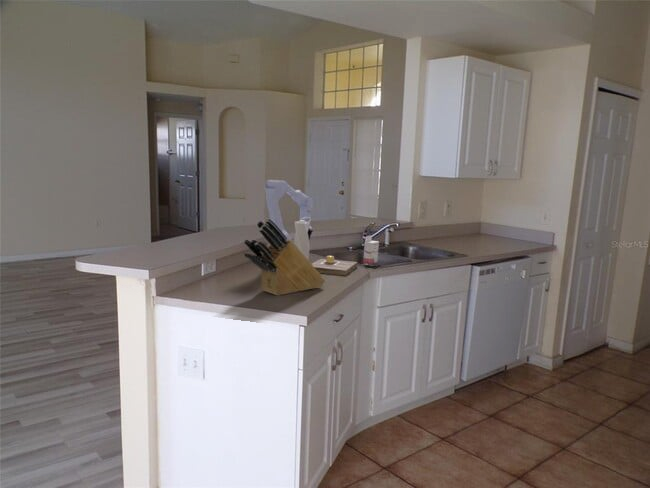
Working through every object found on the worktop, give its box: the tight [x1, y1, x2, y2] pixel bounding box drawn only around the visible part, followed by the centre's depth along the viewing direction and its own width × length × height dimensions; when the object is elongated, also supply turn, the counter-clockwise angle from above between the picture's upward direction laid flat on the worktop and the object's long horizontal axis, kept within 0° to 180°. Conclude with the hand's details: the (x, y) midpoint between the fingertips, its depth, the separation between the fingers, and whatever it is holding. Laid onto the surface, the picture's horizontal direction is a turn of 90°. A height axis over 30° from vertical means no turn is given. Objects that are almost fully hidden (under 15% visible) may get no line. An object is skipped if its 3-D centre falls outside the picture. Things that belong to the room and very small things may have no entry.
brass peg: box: [325, 255, 335, 264], centre depth 254 cm, size 4×4×6 cm
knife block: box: [243, 218, 326, 297], centre depth 204 cm, size 11×35×31 cm, turn 132°
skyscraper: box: [293, 216, 312, 260], centre depth 231 cm, size 8×8×28 cm
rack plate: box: [311, 258, 358, 277], centre depth 252 cm, size 22×20×3 cm
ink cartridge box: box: [363, 235, 380, 265], centre depth 272 cm, size 9×5×15 cm, turn 149°
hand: (304, 244), depth 268 cm, fingers open, 7 cm apart
